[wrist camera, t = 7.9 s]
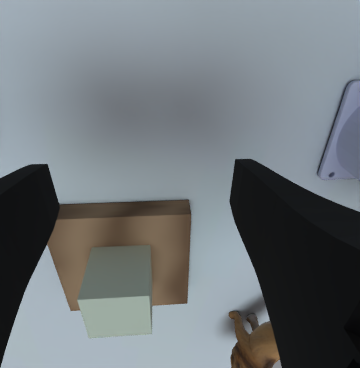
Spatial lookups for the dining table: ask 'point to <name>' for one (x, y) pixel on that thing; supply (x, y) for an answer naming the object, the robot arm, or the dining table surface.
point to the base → (125, 243)
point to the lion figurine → (253, 344)
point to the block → (117, 292)
